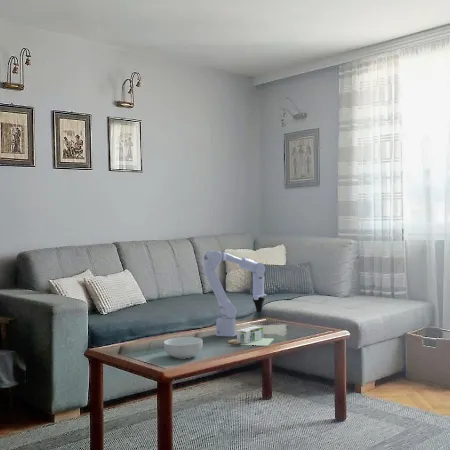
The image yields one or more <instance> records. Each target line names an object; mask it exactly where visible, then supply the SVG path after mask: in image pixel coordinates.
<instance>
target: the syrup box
mask: <svg viewBox="0 0 450 450" xmlns="http://www.w3.org/2000/svg"><path fill="white" fill-rule="evenodd" d="M236 333H237V335H236V339H237V342H240V343H250V342H253V341H256V340H260V339H263V338H264V327H262V326H256V325H255V326H254V325H253V326H250V327H245V328H241V329H236Z"/></svg>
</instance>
